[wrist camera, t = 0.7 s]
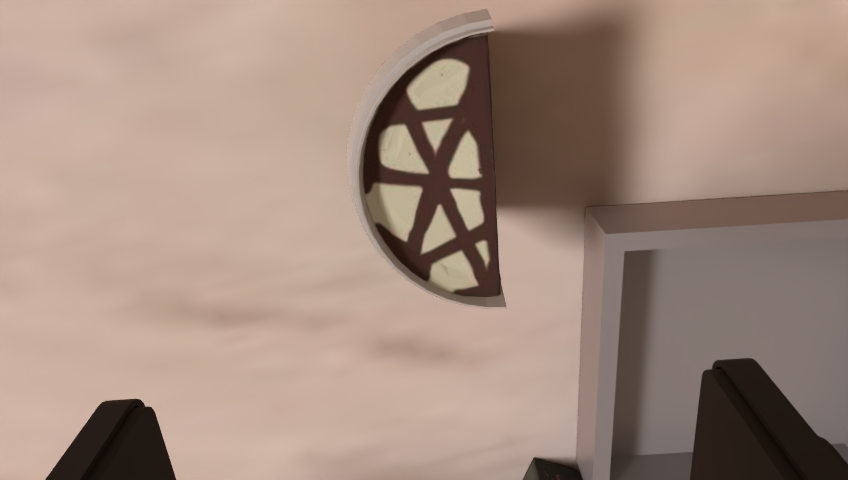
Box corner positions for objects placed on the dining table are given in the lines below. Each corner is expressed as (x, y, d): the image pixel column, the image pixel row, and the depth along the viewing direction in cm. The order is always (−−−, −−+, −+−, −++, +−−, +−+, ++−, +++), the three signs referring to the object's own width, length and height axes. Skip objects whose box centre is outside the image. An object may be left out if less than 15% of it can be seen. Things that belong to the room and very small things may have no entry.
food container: (346, 12, 32) (318, 29, 22) (470, 0, 31) (493, 12, 22) (375, 240, 36) (362, 332, 27) (483, 231, 36) (507, 319, 27)
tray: (846, 444, 42) (887, 488, 39) (576, 459, 43) (591, 505, 39) (909, 186, 35) (967, 211, 32) (586, 207, 36) (605, 234, 32)
